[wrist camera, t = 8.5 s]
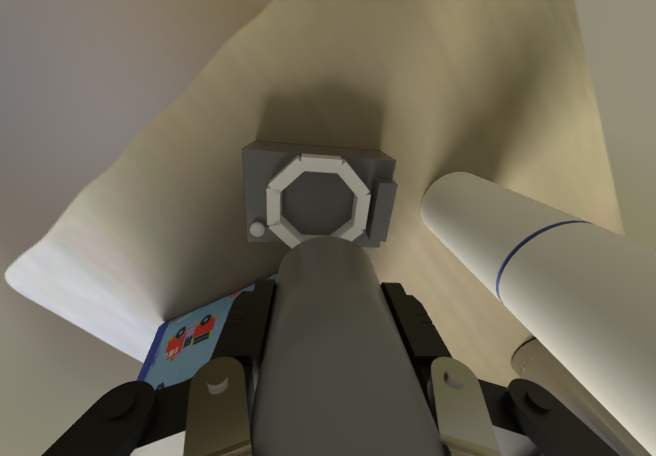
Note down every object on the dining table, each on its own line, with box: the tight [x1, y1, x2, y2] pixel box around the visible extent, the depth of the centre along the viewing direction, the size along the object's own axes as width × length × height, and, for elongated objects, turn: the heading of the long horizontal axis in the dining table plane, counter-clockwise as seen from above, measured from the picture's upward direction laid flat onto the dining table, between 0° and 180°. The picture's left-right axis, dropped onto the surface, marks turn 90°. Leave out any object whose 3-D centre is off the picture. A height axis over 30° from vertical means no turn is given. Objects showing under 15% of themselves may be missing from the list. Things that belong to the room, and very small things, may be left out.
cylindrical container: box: [420, 172, 656, 456], centre depth 16 cm, size 7×7×25 cm
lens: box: [249, 236, 446, 456], centre depth 8 cm, size 4×4×9 cm
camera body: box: [242, 141, 397, 249], centre depth 23 cm, size 12×8×7 cm, turn 85°
